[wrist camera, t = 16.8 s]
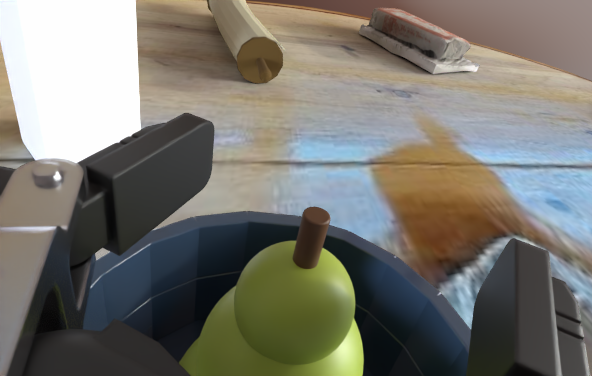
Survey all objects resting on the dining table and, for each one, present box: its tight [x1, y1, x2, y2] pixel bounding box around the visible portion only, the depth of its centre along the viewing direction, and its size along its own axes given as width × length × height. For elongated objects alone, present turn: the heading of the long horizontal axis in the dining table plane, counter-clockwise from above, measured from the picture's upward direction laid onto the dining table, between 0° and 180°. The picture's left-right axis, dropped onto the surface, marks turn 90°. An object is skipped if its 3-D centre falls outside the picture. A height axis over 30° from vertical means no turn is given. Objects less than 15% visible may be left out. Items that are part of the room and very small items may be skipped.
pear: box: [179, 207, 364, 376], centre depth 12 cm, size 6×6×12 cm
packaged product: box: [359, 8, 480, 74], centre depth 66 cm, size 18×5×10 cm
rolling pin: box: [207, 0, 285, 84], centre depth 54 cm, size 32×6×5 cm, turn 16°
